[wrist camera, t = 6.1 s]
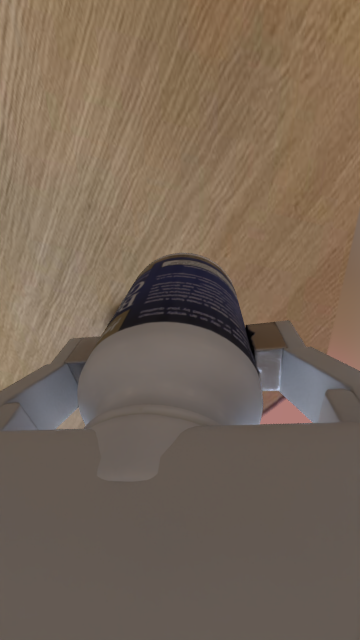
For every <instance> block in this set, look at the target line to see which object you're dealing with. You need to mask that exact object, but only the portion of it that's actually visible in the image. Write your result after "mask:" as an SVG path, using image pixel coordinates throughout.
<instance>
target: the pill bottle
mask: <svg viewBox="0 0 360 640" xmlns="http://www.w3.org/2000/svg"><path fill="white" fill-rule="evenodd" d="M77 399H78V406H79V410H80V413H81V416H82V418H83V421H84V423H85V425H86V426H85V427H84V429H92V430H94V431H95V432H96V436H97V439H98V446H99V451H100V454H101V460H100V463H99V466H98V470H97V476H98V477H99V478H101V479H104V480H107V481H123V482H135V481H144V480H148V479H151V478H153V477H154V476H155V475H157V473H158V468H159V463H160V457H161V456H162V454H163V453H164V452H165V451H166V450H167V449H168V448H169V447H170V446H171V445H172V444H173V442H174V441H175V440H176V438H177V437H178V436H179V434H180V433H181V432H183V431H184V430H186V429H188V428H192V427H195V426H216V425H258V424H260V421H261V416H262V411H263V397H262V390H261V385H260V380H259V375H258V372H257V368H256V365H255V361H254V358H253V354H252V351H251V347H250V343H249V340H248V336H247V333H246V329H245V325H244V322H243V318H242V314H241V310H240V307H239V303H238V300H237V296H236V292H235V289H234V287H233V285H232V282H231V280H230V278H229V277H228V275H227V274H226V273H225V271H224V270H223V269H222V268H221V267H220V266H218V265H217V264H216V263H215V262H213V261H212V260H210V259H208V258H206V257H203V256H200V255H197V254H192V253H175V254H170V255H166V256H163V257H161V258H159V259H157V260H155V261H154V262H152V263H151V264H149V265H148V266H147V267H146V268H145V269H144V270H143V271H142V272H141V274H140V275H139V276H138V277H137V279H136V281H135V282H134V284H133V286H132V287H131V289H130V290H129V292H128V294H127V295H126V297H125V298H124V300H123V301H122V303H121V305H120V307H119V308H118V310H117V312H116V313H115V315H114V316H113V318H112V320H111V321H110V323H109V324H108V326H107V328H106V329H105V331H104V332H103V334H102V336H101V337H100V339H99V340H98V342H97V344H96V345H95V347H94V349H93V350H92V352H91V354H90V356H89V357H88V360H87V362H86V363H85V365H84V367H83V369H82V372H81V374H80V377H79V382H78V388H77Z"/></svg>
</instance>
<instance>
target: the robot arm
mask: <svg viewBox="0 0 360 640" xmlns="http://www.w3.org/2000/svg"><path fill="white" fill-rule="evenodd" d="M246 333H247V336H248V340H249V343H250V347H251V351H252V354H253V358H254V361H255V365H256V368H257V372H258V375H259V380H260V385H261V390H262V391H280V393H281V394H283V395H284V396H285V397H286V398H287V399H288V400H289V401H290V402H291V403H292V404H293V405H295V406H296V407H297V408H298V409H299V410H300V411H301V412H302V413H303V414H305V416H306V417H307V418H309V419H310V420H311V421H312V422H313V423H300V424H299V423H297V424H258V425H216V426H195V427H192V428H188V429H186V430H184V431H183V432H181V433H180V434H179V436H178V437H177V438H176V440H175V441H174V442H173V444H172V445H171V446H170V447H169V448H168V449H167V450H166V451H165V452H164V453H163V454H162V456H161V457H160V463H159V468H158V473H157V475H155V476H154V477H153V478H151V479H148V480H144V481H135V482H123V481H107V480H104V479H101V478H99V477H98V476H97V470H98V466H99V463H100V460H101V454H100V451H99V446H98V439H97V436H96V432H95V431H94V430H92V429H58V430H55V429H56V428H57V427H58V426H59V425H60V424H61V423H62V422H63V421H64V420H66V419H67V418H68V417H69V416H70V415H71V414H72V413H73V412H74V411H75V410H76V409H77V408H78V407H79V406H78V399H77V388H78V382H79V377H80V374H81V372H82V369H83V367H84V365H85V363H86V362H87V360H88V357H89V356H90V354H91V352H92V350H93V349H94V347H95V345H96V344H97V342H98V340H99V339H100V337H101V336H100V337H85V338H73V339H70V340H69V341H68V342H67V344H66V345H65V346H64V347H63V349H62V350H61V351H60V352H59V354H58V355H57V356H56V357H55V359H54V360H53V361H52V362H51V364H47V365H45V366H43V367H41V368H39V369H38V370H36V371H34V372H33V373H31V374H29V375H27V376H26V377H24V378H22V379H21V380H19V381H17V382H15V383H14V384H12V385H10V386H9V387H7V388H5V389H3V390H2V391H0V640H360V371H358V370H357V369H355V368H352V367H351V366H348V365H347V364H344V363H343V362H340V361H339V360H336V359H334V358H332V357H330V356H328V355H326V354H324V353H322V352H320V351H318V350H316V349H314V348H312V347H306V346H305V344H304V343H303V341H302V339H301V338H300V336H299V335H298V333H297V331H296V330H295V328H294V327H293V325H292V323H291V322H290V321H288V320H287V321H278V322H270V323H261V324H251V325H246Z"/></svg>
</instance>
